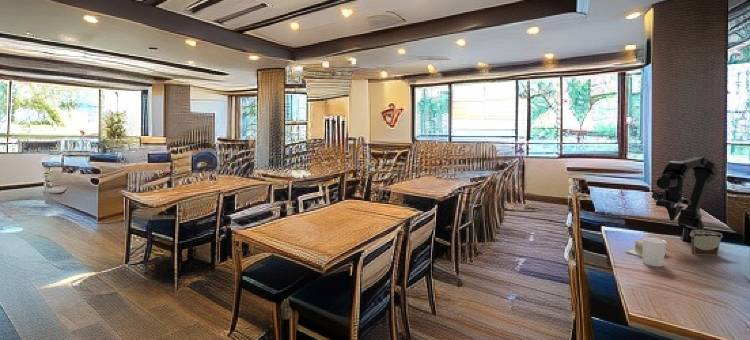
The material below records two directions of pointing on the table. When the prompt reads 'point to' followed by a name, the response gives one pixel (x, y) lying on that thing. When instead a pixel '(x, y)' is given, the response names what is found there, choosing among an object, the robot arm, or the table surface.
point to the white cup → (654, 251)
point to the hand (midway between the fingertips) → (671, 220)
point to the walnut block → (639, 246)
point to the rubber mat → (635, 253)
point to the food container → (705, 242)
